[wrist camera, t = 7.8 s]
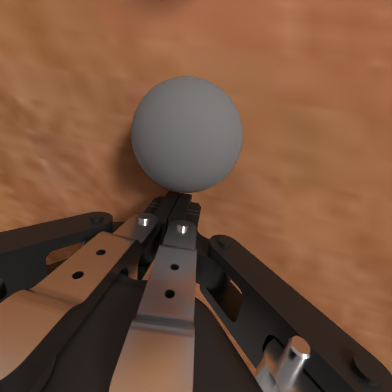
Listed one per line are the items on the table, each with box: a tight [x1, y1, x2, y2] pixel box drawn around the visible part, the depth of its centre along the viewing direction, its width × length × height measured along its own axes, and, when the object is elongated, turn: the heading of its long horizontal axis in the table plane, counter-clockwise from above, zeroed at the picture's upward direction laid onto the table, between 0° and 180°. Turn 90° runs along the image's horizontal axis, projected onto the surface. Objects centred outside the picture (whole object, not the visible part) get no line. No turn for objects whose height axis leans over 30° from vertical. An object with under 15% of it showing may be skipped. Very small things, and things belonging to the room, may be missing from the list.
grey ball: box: [131, 76, 243, 193], centre depth 10 cm, size 6×6×6 cm
